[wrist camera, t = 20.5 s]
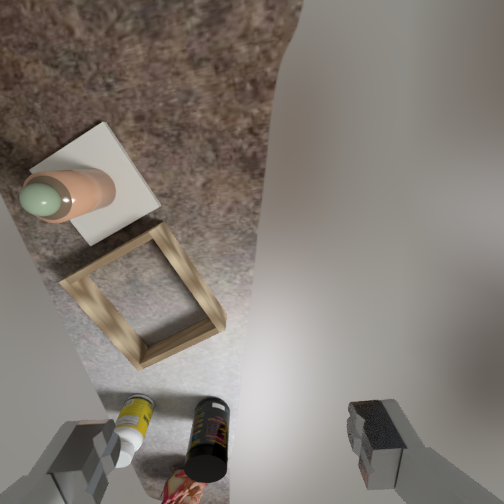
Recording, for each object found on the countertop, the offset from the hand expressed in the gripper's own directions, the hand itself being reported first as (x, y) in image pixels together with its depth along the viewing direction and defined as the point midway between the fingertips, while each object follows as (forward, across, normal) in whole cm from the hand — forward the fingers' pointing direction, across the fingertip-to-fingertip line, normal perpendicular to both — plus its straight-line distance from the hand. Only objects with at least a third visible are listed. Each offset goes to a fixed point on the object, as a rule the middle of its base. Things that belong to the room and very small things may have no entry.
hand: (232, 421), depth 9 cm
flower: (+31, +15, +53) cm, 64 cm away
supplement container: (+31, +8, +37) cm, 49 cm away
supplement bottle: (+31, +22, +34) cm, 51 cm away
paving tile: (+31, +19, -6) cm, 37 cm away
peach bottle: (+30, +19, -6) cm, 36 cm away
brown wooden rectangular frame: (+31, +15, +11) cm, 36 cm away
